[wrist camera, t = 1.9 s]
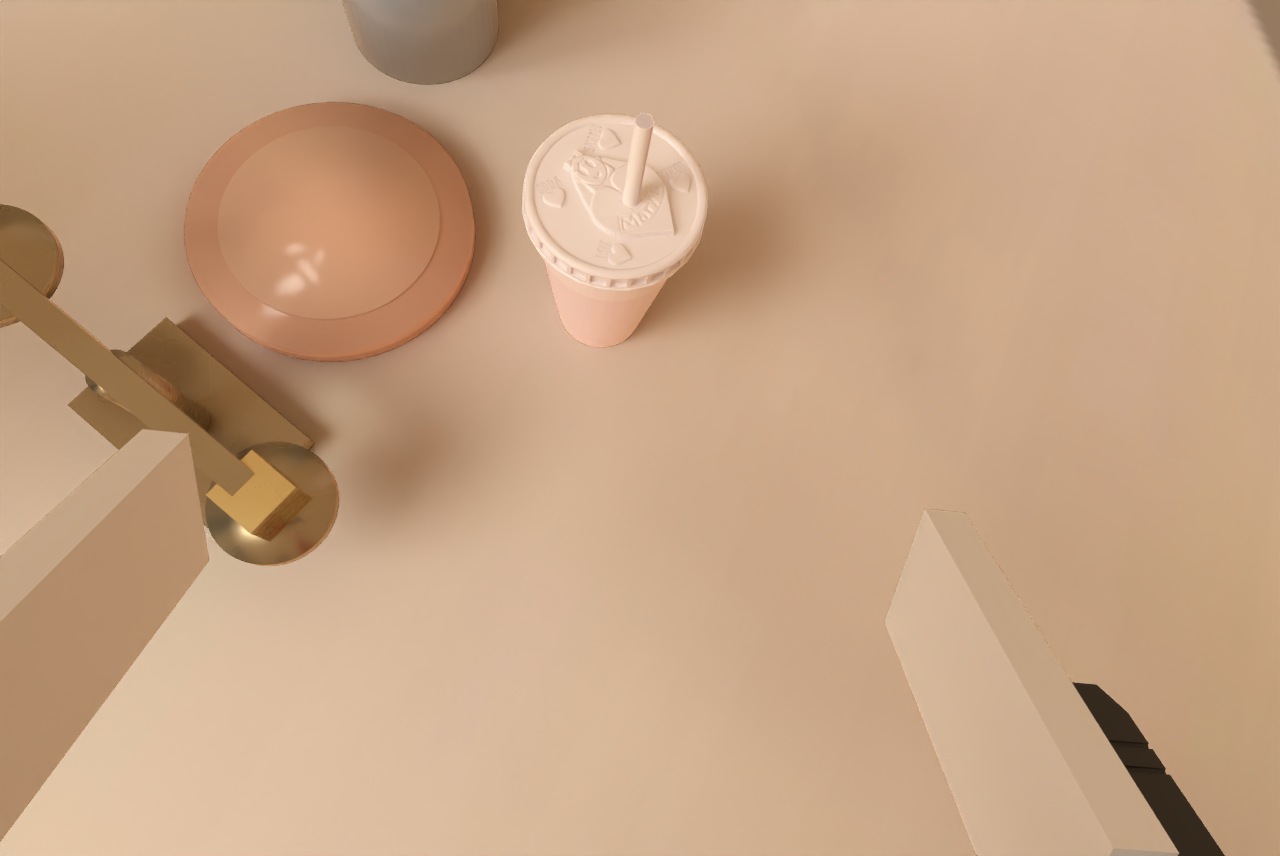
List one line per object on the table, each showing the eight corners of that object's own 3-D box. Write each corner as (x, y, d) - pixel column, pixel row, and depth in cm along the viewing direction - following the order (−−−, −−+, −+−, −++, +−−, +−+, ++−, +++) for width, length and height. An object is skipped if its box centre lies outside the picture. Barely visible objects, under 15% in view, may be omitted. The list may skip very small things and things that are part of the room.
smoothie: (613, 404, 35) (652, 253, 22) (498, 318, 36) (467, 119, 22) (697, 299, 37) (781, 100, 24) (586, 219, 37) (607, -21, 24)
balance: (5, 346, 33) (-178, 244, 25) (103, 264, 34) (-39, 141, 26) (300, 604, 32) (211, 588, 23) (390, 507, 33) (336, 459, 25)
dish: (135, 243, 35) (118, 227, 33) (336, 73, 38) (328, 52, 37) (341, 417, 34) (332, 407, 32) (529, 227, 37) (529, 211, 36)
